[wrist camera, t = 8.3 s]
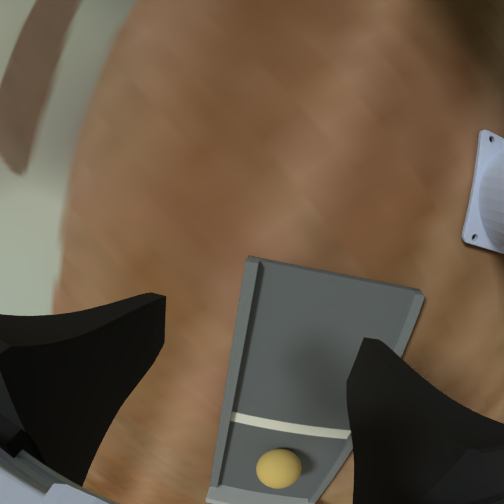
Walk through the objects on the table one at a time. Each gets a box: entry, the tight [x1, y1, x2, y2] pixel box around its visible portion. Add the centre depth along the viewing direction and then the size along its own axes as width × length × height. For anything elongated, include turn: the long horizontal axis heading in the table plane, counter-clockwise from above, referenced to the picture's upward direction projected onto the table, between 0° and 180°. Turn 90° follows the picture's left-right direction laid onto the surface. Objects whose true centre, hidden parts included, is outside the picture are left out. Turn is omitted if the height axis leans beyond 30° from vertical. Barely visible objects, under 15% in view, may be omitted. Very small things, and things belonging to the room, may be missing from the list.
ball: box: [256, 449, 302, 489], centre depth 22 cm, size 4×4×4 cm
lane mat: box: [206, 256, 425, 504], centre depth 22 cm, size 12×28×3 cm, turn 171°
